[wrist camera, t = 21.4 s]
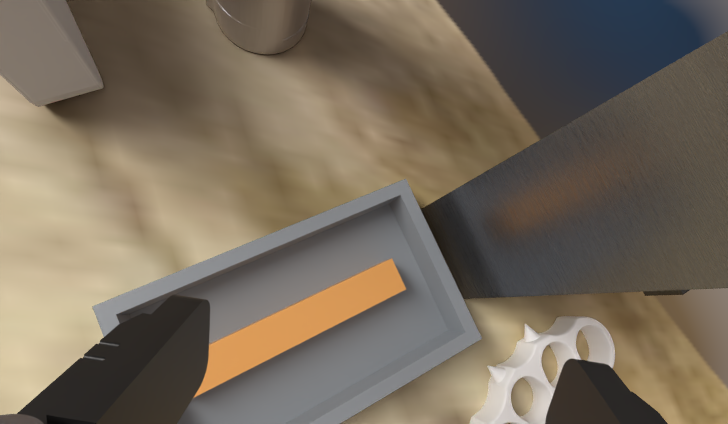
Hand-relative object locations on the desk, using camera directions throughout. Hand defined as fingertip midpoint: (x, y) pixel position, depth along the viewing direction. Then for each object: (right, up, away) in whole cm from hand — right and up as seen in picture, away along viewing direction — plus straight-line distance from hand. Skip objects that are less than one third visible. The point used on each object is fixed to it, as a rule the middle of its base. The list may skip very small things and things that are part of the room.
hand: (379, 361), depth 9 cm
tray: (-6, -7, +28) cm, 29 cm away
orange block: (-7, -6, +27) cm, 29 cm away
